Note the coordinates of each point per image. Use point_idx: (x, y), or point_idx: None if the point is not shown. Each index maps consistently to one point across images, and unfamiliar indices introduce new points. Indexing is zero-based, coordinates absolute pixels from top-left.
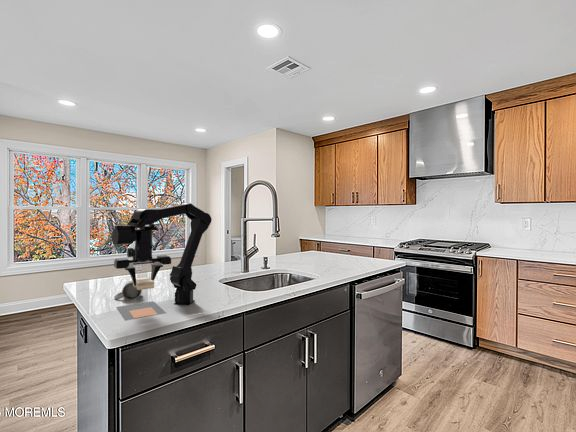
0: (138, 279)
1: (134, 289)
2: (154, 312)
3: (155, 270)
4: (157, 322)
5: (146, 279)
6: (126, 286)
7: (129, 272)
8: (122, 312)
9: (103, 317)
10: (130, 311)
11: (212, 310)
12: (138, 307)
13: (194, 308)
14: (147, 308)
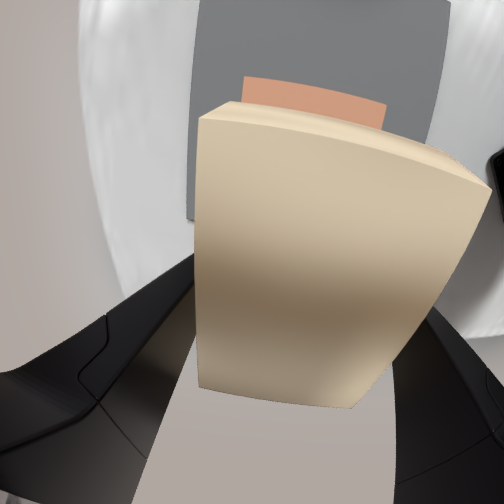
0: (276, 236)
1: None
2: None
3: (404, 491)
4: None
5: (369, 315)
6: None
7: (46, 371)
8: (206, 77)
9: (116, 88)
10: (249, 93)
11: (487, 321)
12: (324, 42)
13: (490, 268)
14: (358, 111)
